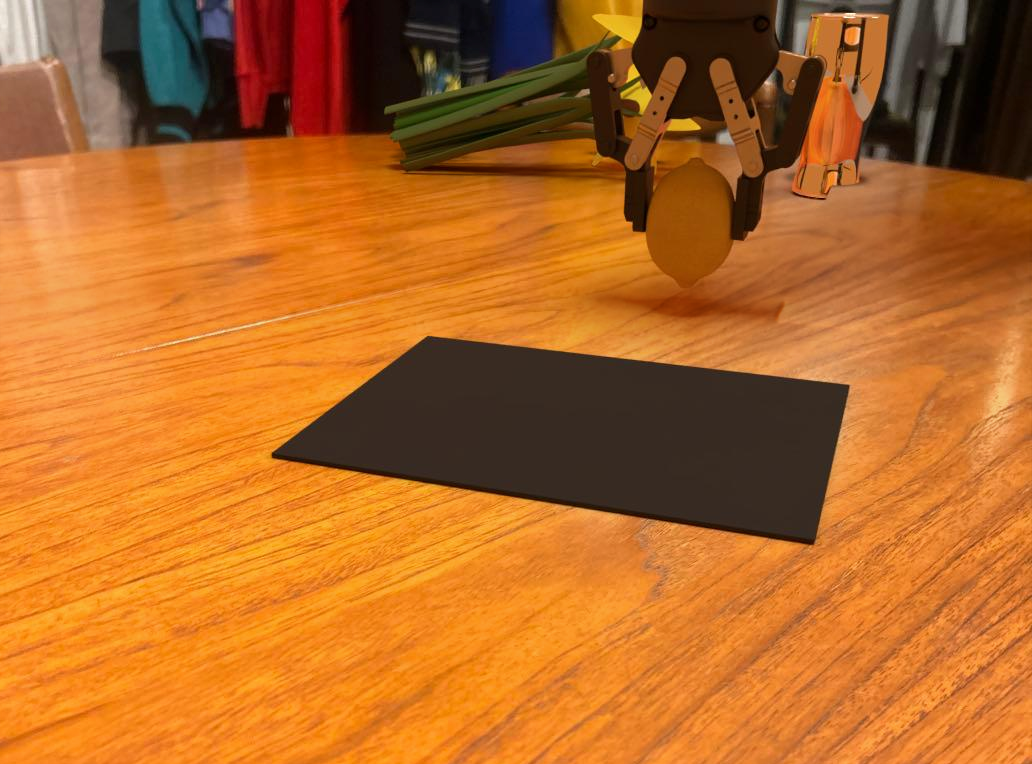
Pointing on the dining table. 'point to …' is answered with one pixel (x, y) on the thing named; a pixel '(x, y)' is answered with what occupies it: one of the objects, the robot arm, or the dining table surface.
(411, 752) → the dining table surface
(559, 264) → the dining table surface
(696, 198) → the lemon
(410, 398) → the felt mat
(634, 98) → the daffodil flowers
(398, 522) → the dining table surface
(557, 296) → the dining table surface
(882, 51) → the beer glass
